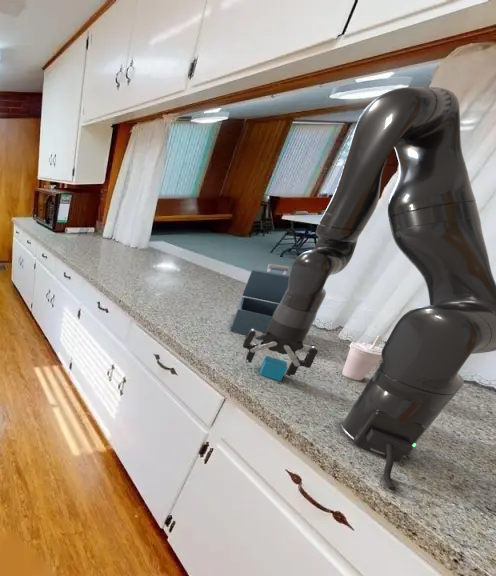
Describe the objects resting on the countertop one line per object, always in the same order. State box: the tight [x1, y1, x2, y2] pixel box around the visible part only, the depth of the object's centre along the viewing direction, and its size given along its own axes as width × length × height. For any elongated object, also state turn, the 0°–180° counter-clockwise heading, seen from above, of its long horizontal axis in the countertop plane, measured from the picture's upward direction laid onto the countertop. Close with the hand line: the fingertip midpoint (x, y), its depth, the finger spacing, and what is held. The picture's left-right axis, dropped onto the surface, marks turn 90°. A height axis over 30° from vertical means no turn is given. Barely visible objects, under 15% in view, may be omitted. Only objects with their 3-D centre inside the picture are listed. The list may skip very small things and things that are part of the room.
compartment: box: [230, 296, 279, 340], centre depth 106 cm, size 15×13×9 cm
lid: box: [241, 263, 290, 304], centre depth 104 cm, size 15×13×6 cm
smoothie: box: [341, 334, 383, 381], centre depth 81 cm, size 6×6×14 cm
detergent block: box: [259, 355, 288, 382], centre depth 84 cm, size 4×4×4 cm
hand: (268, 367), depth 86 cm, fingers open, 8 cm apart
